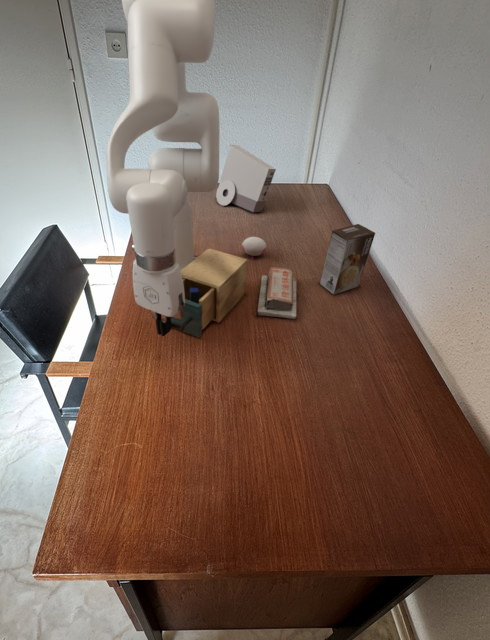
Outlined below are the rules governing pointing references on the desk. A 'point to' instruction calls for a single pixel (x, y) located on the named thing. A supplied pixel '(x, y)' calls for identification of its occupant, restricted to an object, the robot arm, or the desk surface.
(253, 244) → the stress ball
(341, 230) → the coffee box
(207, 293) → the drawer
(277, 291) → the packaged product
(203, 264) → the cabinet
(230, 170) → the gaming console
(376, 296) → the desk surface
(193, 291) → the eraser
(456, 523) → the desk surface
